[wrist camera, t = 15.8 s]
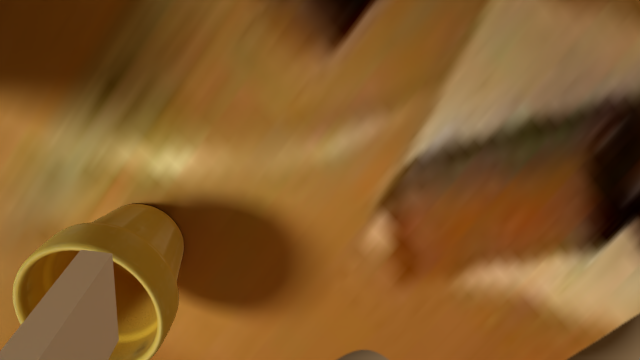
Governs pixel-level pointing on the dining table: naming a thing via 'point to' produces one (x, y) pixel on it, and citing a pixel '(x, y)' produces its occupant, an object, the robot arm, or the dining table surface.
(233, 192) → the dining table surface
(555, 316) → the dining table surface
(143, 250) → the plant pot
